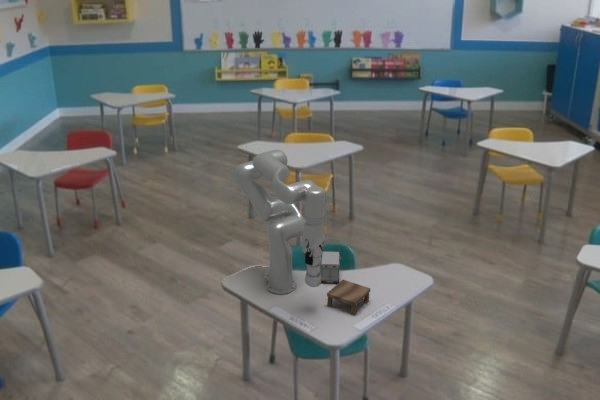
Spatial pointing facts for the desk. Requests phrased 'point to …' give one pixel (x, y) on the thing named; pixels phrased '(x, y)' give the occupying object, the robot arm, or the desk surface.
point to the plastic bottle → (314, 269)
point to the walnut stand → (348, 294)
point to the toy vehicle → (330, 267)
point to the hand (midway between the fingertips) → (313, 260)
